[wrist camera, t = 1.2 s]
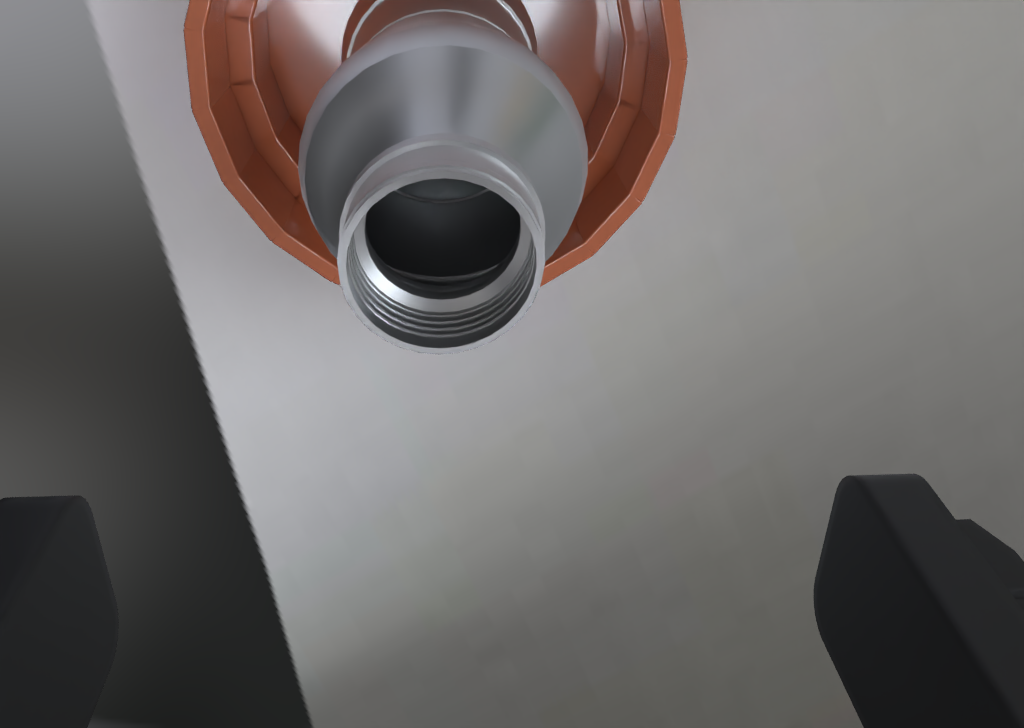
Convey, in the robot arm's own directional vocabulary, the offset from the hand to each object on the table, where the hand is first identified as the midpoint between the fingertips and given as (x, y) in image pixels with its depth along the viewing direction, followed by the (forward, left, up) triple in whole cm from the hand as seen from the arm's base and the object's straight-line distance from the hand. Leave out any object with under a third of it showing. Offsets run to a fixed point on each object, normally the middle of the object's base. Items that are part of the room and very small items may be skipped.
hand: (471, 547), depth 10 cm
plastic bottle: (0, 0, -28) cm, 28 cm away
